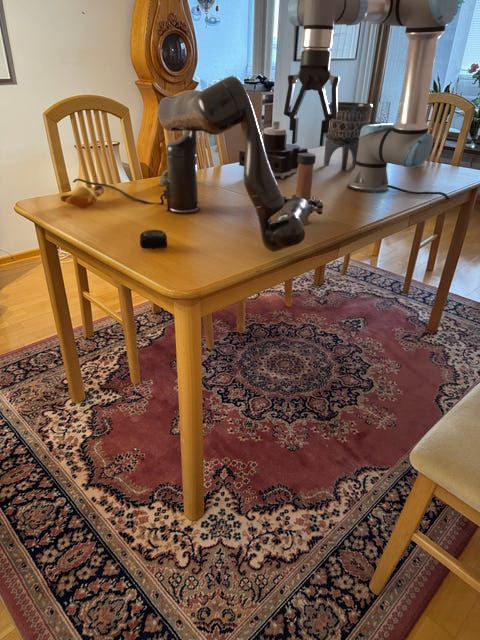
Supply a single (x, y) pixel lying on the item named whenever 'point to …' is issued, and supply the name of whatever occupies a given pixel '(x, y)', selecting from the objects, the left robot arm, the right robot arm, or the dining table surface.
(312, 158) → the lid
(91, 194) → the toy
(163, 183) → the rock
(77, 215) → the dining table surface
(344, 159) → the planter
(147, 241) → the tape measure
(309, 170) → the pinkish brown rounded rod
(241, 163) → the mechanical component
